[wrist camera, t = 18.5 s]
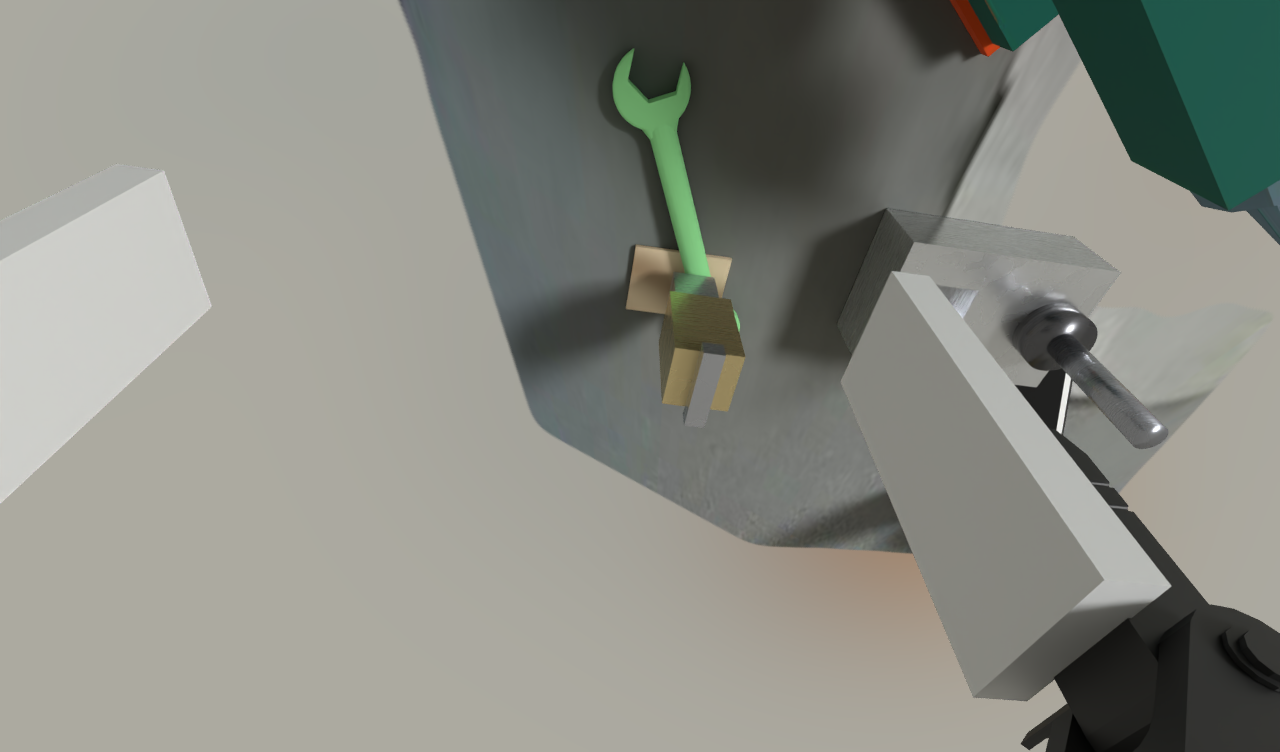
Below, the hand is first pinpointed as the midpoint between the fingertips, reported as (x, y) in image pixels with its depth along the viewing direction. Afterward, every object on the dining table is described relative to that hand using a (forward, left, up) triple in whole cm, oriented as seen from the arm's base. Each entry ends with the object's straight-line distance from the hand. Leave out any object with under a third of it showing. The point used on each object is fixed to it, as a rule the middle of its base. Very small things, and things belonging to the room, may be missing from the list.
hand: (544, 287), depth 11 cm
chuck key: (+18, +9, -32) cm, 38 cm away
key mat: (+18, +8, -35) cm, 40 cm away
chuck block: (+15, +31, -35) cm, 49 cm away
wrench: (+13, +7, -34) cm, 37 cm away
